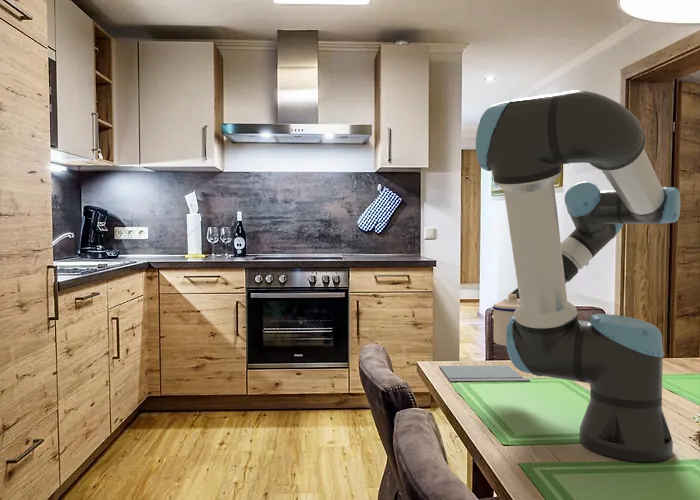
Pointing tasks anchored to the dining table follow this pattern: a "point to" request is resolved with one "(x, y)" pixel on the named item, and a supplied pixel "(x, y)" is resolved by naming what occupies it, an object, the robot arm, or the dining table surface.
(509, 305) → the teacup with lid
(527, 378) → the black line strip
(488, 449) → the dining table surface
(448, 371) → the slate mat
